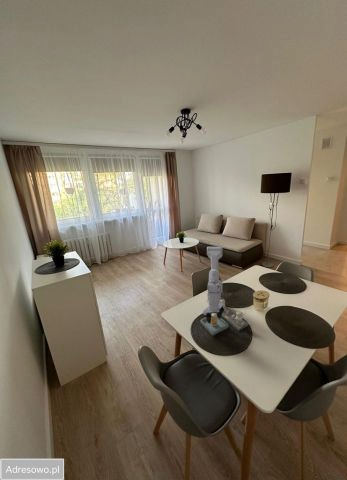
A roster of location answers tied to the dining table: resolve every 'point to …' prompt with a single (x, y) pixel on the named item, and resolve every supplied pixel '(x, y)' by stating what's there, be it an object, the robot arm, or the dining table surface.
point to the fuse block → (233, 319)
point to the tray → (215, 330)
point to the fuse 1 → (222, 302)
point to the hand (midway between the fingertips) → (214, 320)
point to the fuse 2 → (239, 317)
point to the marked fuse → (214, 319)
